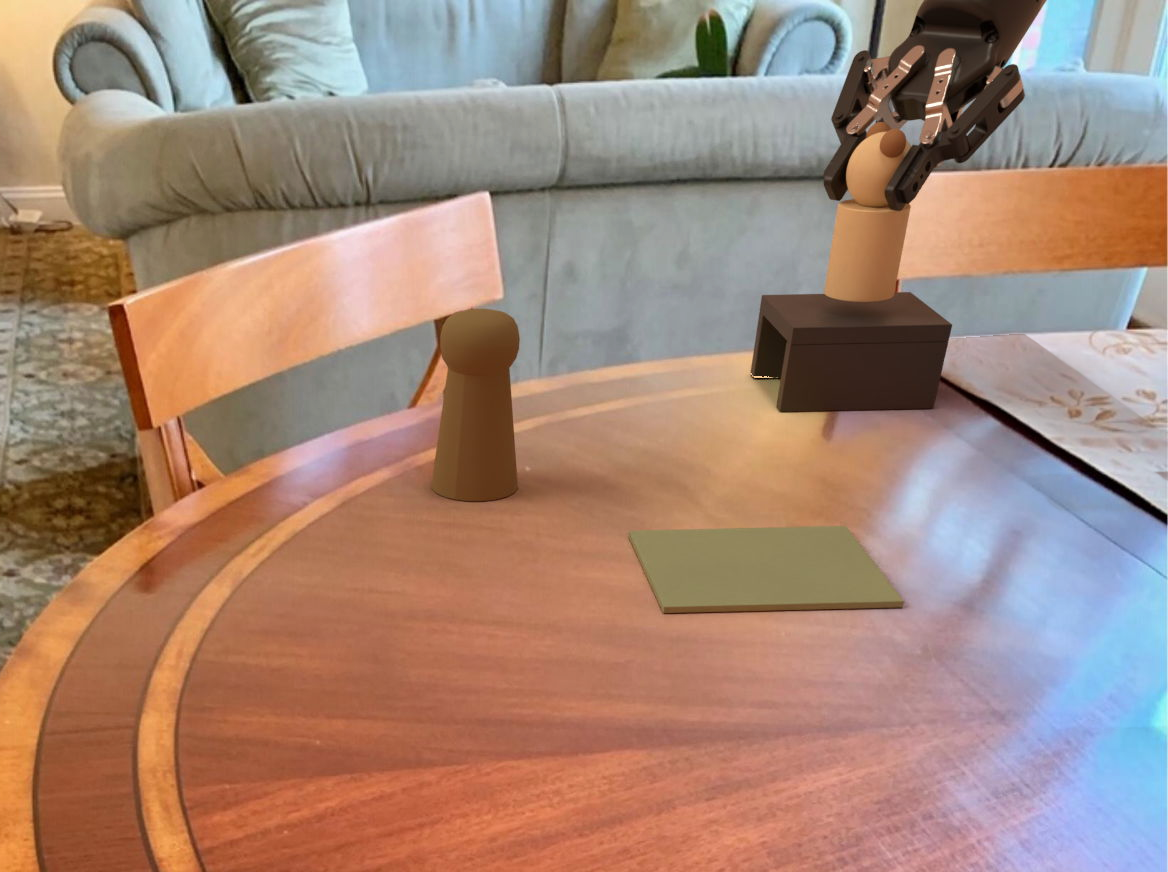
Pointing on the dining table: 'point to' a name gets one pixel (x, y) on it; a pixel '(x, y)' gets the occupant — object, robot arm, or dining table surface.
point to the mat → (761, 569)
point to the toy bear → (869, 222)
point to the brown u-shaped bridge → (850, 352)
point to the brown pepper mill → (477, 407)
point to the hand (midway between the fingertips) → (861, 196)
